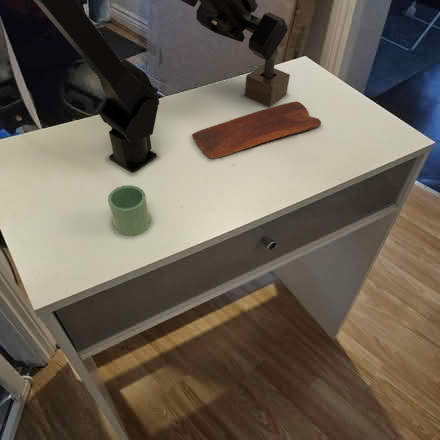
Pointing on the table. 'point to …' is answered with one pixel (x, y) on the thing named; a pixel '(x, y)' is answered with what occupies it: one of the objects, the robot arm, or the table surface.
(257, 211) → the table surface
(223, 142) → the wooden tablet
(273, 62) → the stylus
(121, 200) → the pen cup
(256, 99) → the pen stand
